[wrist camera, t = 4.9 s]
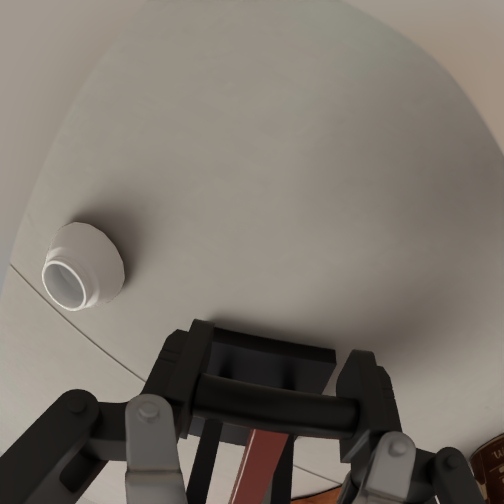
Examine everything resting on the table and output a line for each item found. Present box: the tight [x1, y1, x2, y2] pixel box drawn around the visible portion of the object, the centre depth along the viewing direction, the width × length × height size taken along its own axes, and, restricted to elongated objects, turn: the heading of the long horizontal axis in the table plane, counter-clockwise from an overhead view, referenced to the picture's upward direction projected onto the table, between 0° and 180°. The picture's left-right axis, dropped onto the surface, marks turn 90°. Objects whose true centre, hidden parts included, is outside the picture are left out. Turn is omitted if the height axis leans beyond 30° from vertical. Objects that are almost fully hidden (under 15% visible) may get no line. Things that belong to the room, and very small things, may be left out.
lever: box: [191, 373, 359, 504], centre depth 10 cm, size 12×5×2 cm, turn 170°
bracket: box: [186, 327, 337, 504], centre depth 15 cm, size 11×8×13 cm
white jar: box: [42, 222, 125, 311], centre depth 16 cm, size 5×3×5 cm
